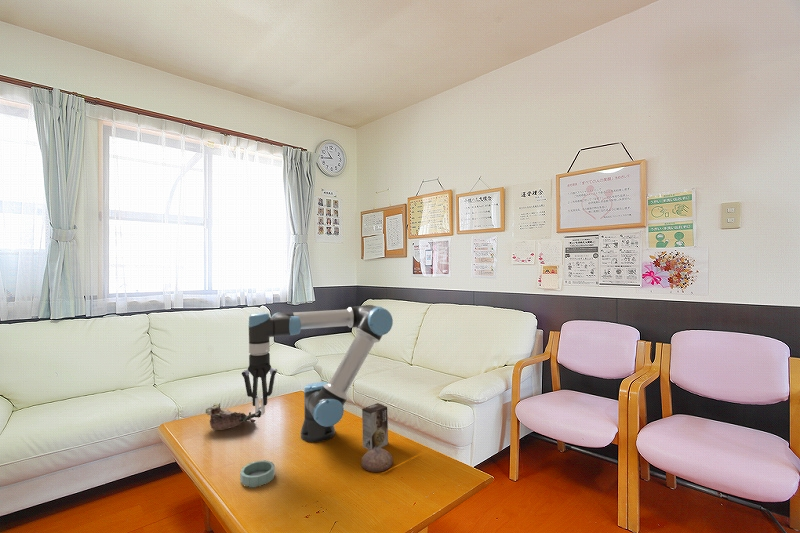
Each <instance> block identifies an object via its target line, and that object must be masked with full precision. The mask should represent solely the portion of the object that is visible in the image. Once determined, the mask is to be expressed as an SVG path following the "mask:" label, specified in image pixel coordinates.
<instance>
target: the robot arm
mask: <svg viewBox="0 0 800 533" xmlns="http://www.w3.org/2000/svg"><path fill="white" fill-rule="evenodd" d="M393 321H394V320H393V316H392V314H391V312H390V311H389V310H388V309H387V308H384V307H382V306H376V305H373V304H365V305H358V306H348V308H345V309H335V310H330V309H329V310H316V311H315V310H314V311H297V312H282V311H281V312H276V313H275V312H274V314H273V315H271V317H270V314H269V313H268V312H255V313H251V314H250V315H249V317H248V354H249V355H248V364H249V365H248V368H247V369H246V370H243V371H242V372H241V375H242V377H243V379H244V385H245V389H246V396H247V397H248V398H251V399H252V406H253V407H254V409H255V410H254V411H255V412H254V413H255V415H258V414H259V413H257V412H258V410H259V408H260V406H261V410H260V411H261V416H264V415H265V413H266V408H265V407H266V406H267V405H268V397H269V396H271V395H272V394H273V391H274V390H273V389H274V384H275V378H276V374H277V373H278V369H277V368H275V369H274V368H272V366H271V363H270V362H271V361H270V360H271V358H270V357H271V356H270V355H271V354H270V353H269V352H270V346H271V344H270V338H275V337H283V336H284V337H285V336H296V335H299V334H300V333H301V331H302V330H307V329H309V330H310V329H322V328H334V327H335V328H336V327H348V328H349V329H351V328H352V329H353V328H355V329H356V335H355V337H354V339H353V340H352V342H351V344H350V346H349V347H348V349H347V351H346V353H345V354H344V356H343V358H342V360H341V362H340V363H339V365H338V367H337V368H336V370H335V372H334V373H333V376H332V377H331V378H330V380H329V382H327V381H326V382H325V381H324V382H321V381H320V382H313V383H308V384H306V385H305V386H304V387H303V388H304V389H303V398H304V399H303V402H304V403H303V404H304V407H303V408H304V411H303V412H304V419H303V423H302V426H301V430H300V438H301V440H302V441H304V442H307V443H322V442H325V441H328V440H330V439H331V438H333V437H334V436H335V435H336V428H335V425H337V424H338V423H340V421H341V420H342V418H343V416H344V406H345V404H346V402H347V400H348V396H347V393H348V391H349V390H350V388H351V385H352V384H353V382H354V381H355V379H356V376H358V373H359V371H360V370H361V368H362V366H363V364H364V363H365V361H366V359H367V357H368V355H369V353H370V351H371V350H372V348H373V346H374V345H375V344H376V343H379V342H380V341H381V339H382V338H383V336H384V335H387V334H388V333H389V332H390V331H391V330H392V327H393V324H394V322H393ZM268 373H269V374H270V378H269V383H267V375H268ZM250 375H251V376H252V385H251V380H250ZM259 378H260V381H261V389H262V391H261V392H262V396H261V397H260V396H259V395H258V385H259V384H258V383H259Z"/></svg>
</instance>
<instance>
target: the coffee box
mask: <svg viewBox="0 0 800 533" xmlns="http://www.w3.org/2000/svg"><path fill="white" fill-rule="evenodd" d="M361 411H362V412H361V414H362V415H361V416H362V422H361V423H362V447H363V448H364V449H366V450H367V451H369V450H371V449H374V448H383V447H386V446H387V445H388V444H389V424H388V420H389V419H388V406H385V405H384V404H381V403H379V402H378V403H374V404H372V405H369V406H366V407H363V408H362V410H361Z"/></svg>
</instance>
